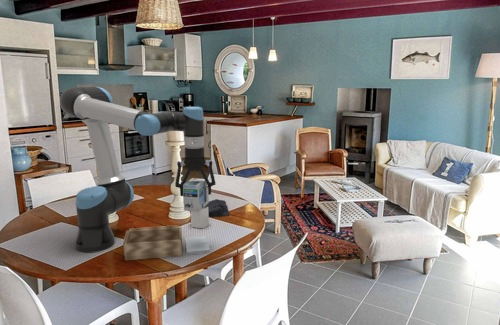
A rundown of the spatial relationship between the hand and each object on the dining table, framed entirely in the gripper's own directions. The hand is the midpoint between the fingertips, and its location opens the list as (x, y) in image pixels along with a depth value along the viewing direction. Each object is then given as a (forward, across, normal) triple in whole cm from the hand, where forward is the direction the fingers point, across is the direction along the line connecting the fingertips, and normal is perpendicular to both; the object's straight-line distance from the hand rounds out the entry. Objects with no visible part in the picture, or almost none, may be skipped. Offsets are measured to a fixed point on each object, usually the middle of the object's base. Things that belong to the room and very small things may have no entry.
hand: (196, 203), depth 155 cm
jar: (+19, +3, +24) cm, 31 cm away
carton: (+19, -17, 0) cm, 25 cm away
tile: (+19, 0, 0) cm, 19 cm away
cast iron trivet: (+19, +12, +45) cm, 51 cm away
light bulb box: (+2, 0, 0) cm, 2 cm away
